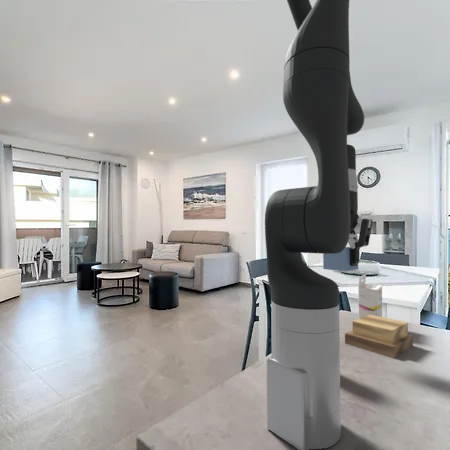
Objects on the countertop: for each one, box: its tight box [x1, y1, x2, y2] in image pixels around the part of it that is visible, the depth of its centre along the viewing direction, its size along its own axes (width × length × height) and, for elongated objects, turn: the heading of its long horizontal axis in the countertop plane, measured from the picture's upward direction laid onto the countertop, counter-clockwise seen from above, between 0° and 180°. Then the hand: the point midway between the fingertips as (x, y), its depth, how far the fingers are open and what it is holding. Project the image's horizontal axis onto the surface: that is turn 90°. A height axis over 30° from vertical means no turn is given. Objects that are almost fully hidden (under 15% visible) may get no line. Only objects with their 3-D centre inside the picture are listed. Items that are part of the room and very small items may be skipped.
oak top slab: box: [352, 315, 409, 344], centre depth 71 cm, size 9×9×3 cm
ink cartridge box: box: [358, 273, 383, 319], centre depth 83 cm, size 9×5×15 cm, turn 144°
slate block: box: [322, 246, 359, 272], centre depth 68 cm, size 6×6×5 cm
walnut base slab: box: [344, 330, 414, 359], centre depth 71 cm, size 11×11×3 cm
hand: (340, 264), depth 68 cm, fingers closed on slate block, 5 cm apart
